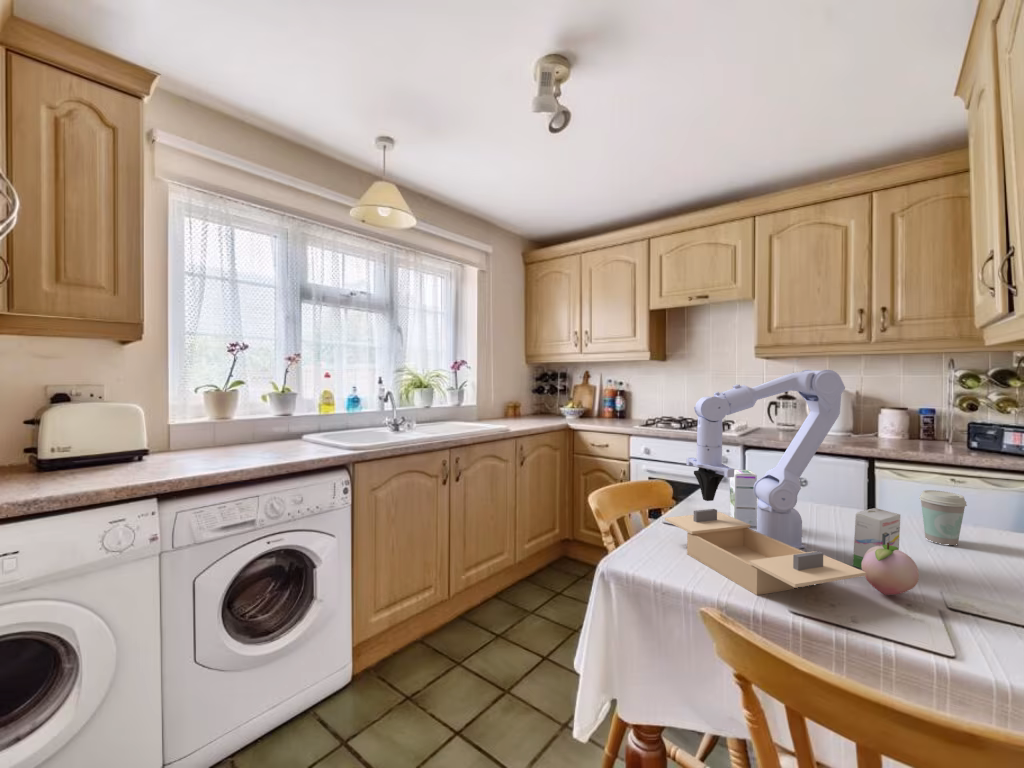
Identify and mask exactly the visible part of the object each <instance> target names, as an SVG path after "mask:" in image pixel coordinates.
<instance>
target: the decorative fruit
mask: <svg viewBox="0 0 1024 768" xmlns="http://www.w3.org/2000/svg"><path fill="white" fill-rule="evenodd" d="M861 567H862V568H861V571H864V572H866V576H864V577H865V579H866V582H868V583H869V584H870V585H871V586H872V587H873V588H874V589H876V591H878V592H879V593H881V594H883V595H885V596H889V595H890V596H891V595H900V594H903V593H907V592H909V591H911V590H912V589H914V588H915V587H916V586H917V584H918V582H919V580H920V573H919V572H920V571H919V568H918V565H917V563H916V562H915V561H914V559H913V558H912V557H911V556H910V555H908V554H906V552H904V551H902V550H900V549H899V550H898V548H897V547H895V546H891V545H889V543H888V542H887V545H882V546H876V547H872V548H870V549H869V550H868V551H867V552H866V553H865V555H864V558H863V560H862V563H861Z"/></svg>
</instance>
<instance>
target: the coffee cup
mask: <svg viewBox="0 0 1024 768" xmlns="http://www.w3.org/2000/svg"><path fill="white" fill-rule="evenodd" d="M919 500H920V503H921V513H922V521H923V529H924V538H927V539H928V540H931V541H933V542H937V543H941V544H949V545H956V544H959V539H960V534H961V530H962V523H963V518H964V513H965V510H966V509H965V507H967V506H968V504H967V501H966V500H965V496H963V495H961V494H957V493H955V492H950V491H944V490H943V491H941V490H934V489H933V490H932V489H925V490H923V491H921V494H920V495H919Z"/></svg>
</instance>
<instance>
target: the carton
mask: <svg viewBox="0 0 1024 768" xmlns="http://www.w3.org/2000/svg"><path fill="white" fill-rule="evenodd" d="M686 533H687V539H686V540H687V541H686V544H687V547H686V548H687V549H686V555H687V556H690V557H691V558H693V559H695V560H697V561H698V562H699V563H701V564H702V565H703V564H704V565H705V566H706V567H708V568H710V569H712V570H713V571H715V572H716V573H718V574H720V575H722V576H723V577H725V578H727V579H728V580H730V581H732V582H734V583H735V584H737V585H738V586H740V587H742V588H744V589H745V590H747V591H748V592H750V593H752V594H754V595H755V596H760V595H767V594H773V593H777V592H784V591H788V590H790V591H791V590H795V589H794V588H795V587H793V586H791V585H789V584H787V583H785V582H783V581H781V580H779V579H777V578H775V577H774V576H772V575H770V574H768V573H766V572H764V571H762V570H760V569H758V568H756V567H754V566H752V565H750V564H749V561H750V560H757V559H764V558H771V557H778V556H785V555H792V554H799V553H806V551H804V550H801V549H800V548H799V549H797V548H794V547H792V546H790V545H787V544H785V543H783V542H780V541H778V540H775V539H773V538H771V537H768V536H766V535H764V534H761V533H759V532H757V530H754V529H753V528H752V529H751V528H750V527H748V528H740V529H731V530H722V531H714V532H705V533H697V534H691V533H689V532H686ZM820 585H822V584H821V583H820ZM808 587H810V586H809V585H808ZM796 588H797V589H799V588H798V587H796ZM802 588H805V587H804V586H802Z"/></svg>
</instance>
